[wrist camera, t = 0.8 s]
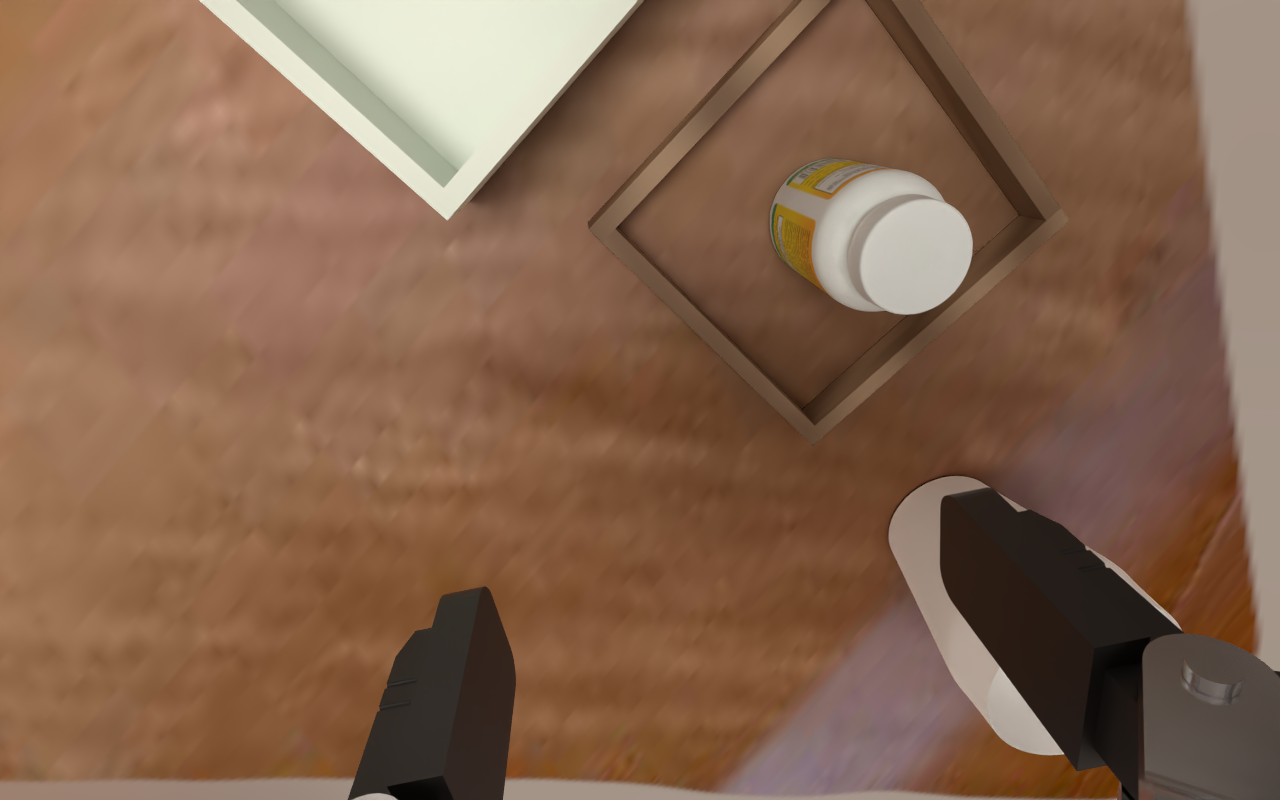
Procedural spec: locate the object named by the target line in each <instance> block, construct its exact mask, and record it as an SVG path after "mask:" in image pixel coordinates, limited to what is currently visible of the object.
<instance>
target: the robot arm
mask: <svg viewBox="0 0 1280 800" xmlns="http://www.w3.org/2000/svg"><path fill="white" fill-rule="evenodd" d="M940 572H941V577H942V581H943V584H944V587H945V589H946V592H947V594H948V596H949V598H950V600H951V601H952V603H953V604H954V606H955V607H956V608H957V610H958V611H959V612H960V614H961V615H962V616H963V618H964V619H965V620H966V622H967V623H968V624H969V626H970V627H971V629H972V630H973V631H974V633H975V634H976V635H977V637H978V638H979V639H980V641H981V642H982V643H983V645H984V646H985V647H986V649H987V650H988V651H989V653H990V654H991V656H992V657H993V658H994V660H995V661H996V662H997V664H998V665H999V666H1000V668H1001V669H1002V670H1003V672H1004V673H1005V674H1006V676H1007V677H1008V679H1009V680H1010V681H1011V683H1012V684H1013V685H1014V687H1015V688H1016V689H1017V691H1018V692H1019V693H1020V695H1021V696H1022V697H1023V699H1024V700H1025V702H1026V703H1027V704H1028V706H1029V707H1030V708H1031V710H1032V711H1033V712H1034V714H1035V715H1036V716H1037V718H1038V719H1039V720H1040V722H1041V723H1042V725H1043V726H1044V727H1045V729H1046V730H1047V731H1048V733H1049V734H1050V735H1051V737H1052V738H1053V739H1054V741H1055V742H1056V743H1057V745H1058V746H1059V748H1060V749H1061V750H1062V752H1063V753H1064V754H1065V756H1066V757H1067V758H1068V760H1069V761H1070V762H1071V764H1072V765H1073V766H1074V768H1075V769H1076V771H1081V770H1086V769H1091V768H1096V767H1101V766H1106V765H1107V766H1108V767H1109V768H1110V769H1111V771H1112V772H1113V773H1114V774H1115V776H1116V777H1117V778H1118V780H1119V781H1120V783H1119V789H1118V796H1117V800H1280V672H1278V671H1273V670H1272V669H1271V668H1270V667H1269V666H1267V665H1266V664H1265V663H1264V662H1263V661H1261V660H1260V659H1258V658H1257V657H1255V656H1254V655H1252V654H1250V653H1249V652H1247V651H1245V650H1243V649H1241V648H1239V647H1237V646H1234V645H1232V644H1230V643H1227V642H1224V641H1221V640H1218V639H1215V638H1211V637H1207V636H1201V635H1196V634H1185V633H1184V632H1182V631H1181V630H1180V629H1179V628H1178V627H1177V626H1176V625H1174V624H1173V623H1172V622H1171V621H1170V620H1169V619H1168V618H1167V617H1165V616H1164V615H1163V614H1162V613H1161V612H1160V611H1159V610H1157V609H1156V608H1155V607H1154V606H1153V605H1152V604H1151V603H1150V602H1148V601H1147V600H1146V599H1145V598H1144V597H1143V596H1142V595H1140V594H1139V593H1138V592H1137V591H1136V590H1135V589H1134V588H1133V587H1131V586H1130V585H1129V584H1128V583H1127V582H1126V581H1125V580H1123V579H1122V578H1121V577H1120V576H1119V575H1118V574H1117V573H1116V572H1114V571H1113V570H1112V569H1111V568H1106V566H1105V563H1104V562H1103V561H1102V560H1101V559H1100V558H1099V557H1097V556H1096V555H1095V554H1094V553H1093V552H1092V551H1091V550H1086V548H1085V545H1084V544H1083V543H1082V542H1080V541H1079V540H1078V539H1077V538H1076V537H1075V536H1074V535H1072V534H1071V533H1070V532H1069V531H1068V530H1067V529H1066V528H1065V527H1063V526H1062V525H1061V524H1059V523H1056V522H1054V521H1052V520H1050V519H1048V518H1046V517H1044V516H1042V515H1040V514H1038V513H1035V512H1033V511H1031V510H1026V511H1021V512H1018V511H1017V510H1016V509H1015V508H1013V507H1012V506H1011V505H1010V504H1009V503H1008V502H1007V501H1006V500H1005V499H1004V498H1003V497H1002V496H1001V495H1000V494H999V493H997V492H996V491H995V490H994V489H992V488H989V487H986V488H981V489H976V490H971V491H966V492H961V493H956V494H951V495H946V496H944V497H943V498H942V500H941V505H940ZM515 687H516V676H515V665H514V659H513V655H512V651H511V648H510V645H509V642H508V639H507V637H506V634H505V631H504V628H503V625H502V622H501V620H500V617H499V614H498V611H497V608H496V606H495V603H494V600H493V597H492V595H491V592H490V590H489V589H488V588H487V587H480V588H475V589H470V590H465V591H460V592H455V593H450V594H445V595H443V596H442V597H441V599H440V602H439V605H438V608H437V612H436V615H435V619H434V622H433V626H432V628H428V629H423V630H418V631H415V633H414V634H413V635H412V636H411V638H410V639H409V640H408V642H407V643H406V644H405V645H404V647H403V648H402V649H401V651H400V652H399V653H398V655H397V656H396V658H395V661H394V664H393V667H392V670H391V673H390V676H389V679H388V682H387V689H385V691H384V693H383V696H382V699H381V702H380V705H379V707H380V711H379V712H377V714H376V717H375V720H374V723H373V726H372V729H371V732H370V735H369V738H368V741H367V744H366V747H365V750H364V753H363V756H362V759H361V762H360V765H359V768H358V771H357V774H356V777H355V780H354V783H353V786H352V789H351V792H350V795H349V798H348V800H503V793H504V784H505V776H506V767H507V758H508V749H509V741H510V732H511V723H512V714H513V705H514V697H515Z"/></svg>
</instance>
